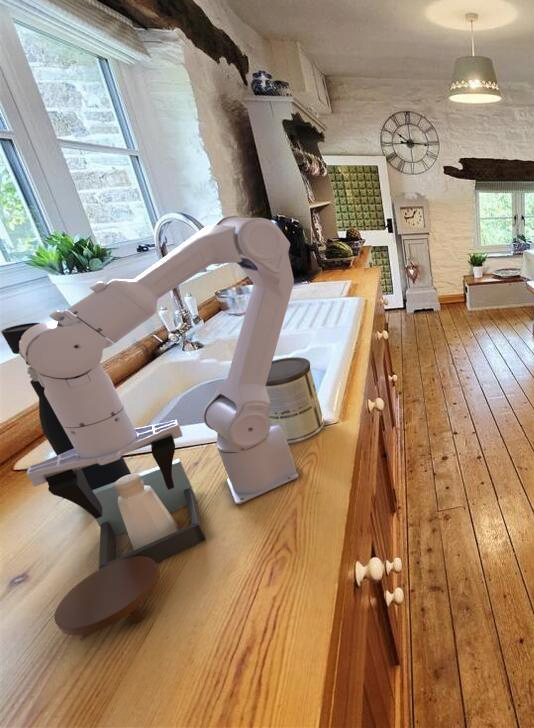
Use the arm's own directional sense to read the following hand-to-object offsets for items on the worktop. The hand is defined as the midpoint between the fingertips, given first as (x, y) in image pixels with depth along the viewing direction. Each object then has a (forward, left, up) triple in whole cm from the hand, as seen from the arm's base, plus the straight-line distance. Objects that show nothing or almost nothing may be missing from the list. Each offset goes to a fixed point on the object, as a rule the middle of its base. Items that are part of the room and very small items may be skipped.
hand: (136, 498), depth 57 cm
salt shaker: (0, 0, -8) cm, 8 cm away
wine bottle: (+5, -17, -8) cm, 19 cm away
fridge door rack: (0, 0, -8) cm, 8 cm away
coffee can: (-24, -15, -8) cm, 29 cm away
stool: (+4, +11, -8) cm, 14 cm away
